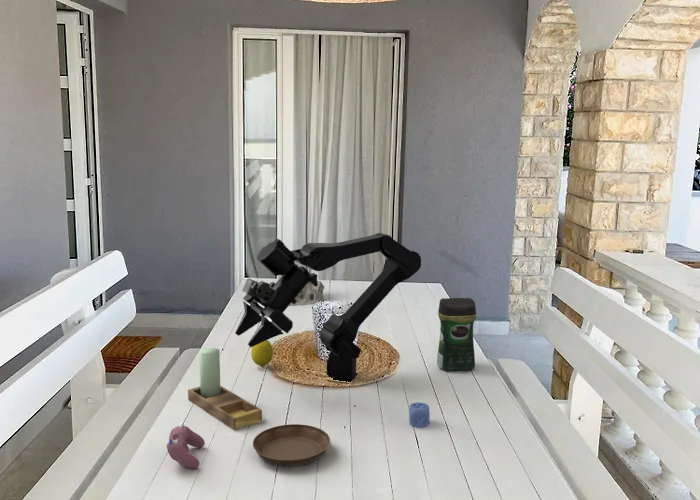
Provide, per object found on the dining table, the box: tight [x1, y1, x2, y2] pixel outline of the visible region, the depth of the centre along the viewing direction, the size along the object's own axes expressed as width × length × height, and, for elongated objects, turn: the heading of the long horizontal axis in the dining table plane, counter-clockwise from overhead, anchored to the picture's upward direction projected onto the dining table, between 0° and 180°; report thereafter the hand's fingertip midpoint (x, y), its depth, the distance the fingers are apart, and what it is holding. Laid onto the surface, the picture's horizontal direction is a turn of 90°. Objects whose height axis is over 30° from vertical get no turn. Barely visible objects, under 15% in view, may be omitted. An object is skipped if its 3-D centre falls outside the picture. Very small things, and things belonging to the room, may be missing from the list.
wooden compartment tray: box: [187, 385, 263, 431], centre depth 151 cm, size 20×7×2 cm, turn 40°
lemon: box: [250, 339, 274, 368], centre depth 177 cm, size 6×6×8 cm
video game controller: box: [166, 424, 206, 470], centre depth 129 cm, size 10×5×7 cm, turn 5°
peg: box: [198, 347, 221, 399], centre depth 154 cm, size 4×4×12 cm
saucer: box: [252, 423, 331, 468], centre depth 132 cm, size 15×15×3 cm
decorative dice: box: [408, 402, 431, 429], centre depth 145 cm, size 4×4×4 cm
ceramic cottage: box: [277, 262, 325, 307], centre depth 242 cm, size 16×16×15 cm
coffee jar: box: [436, 297, 477, 373], centre depth 176 cm, size 10×8×19 cm
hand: (242, 340), depth 156 cm, fingers open, 9 cm apart
